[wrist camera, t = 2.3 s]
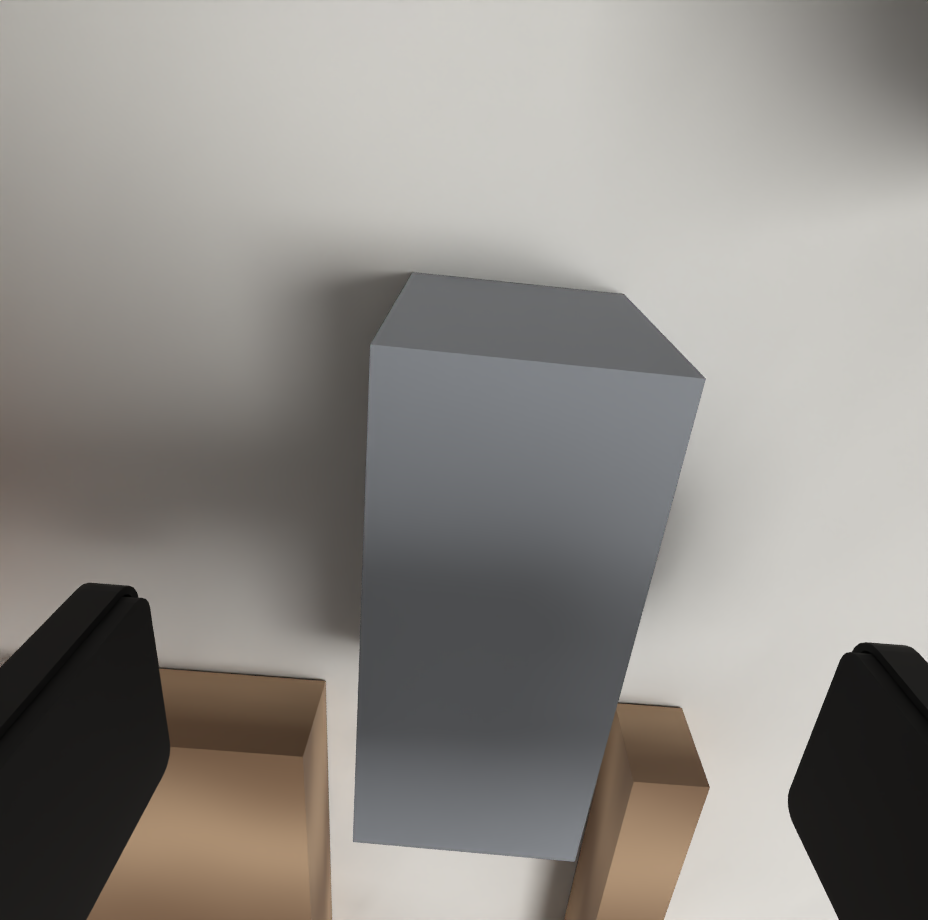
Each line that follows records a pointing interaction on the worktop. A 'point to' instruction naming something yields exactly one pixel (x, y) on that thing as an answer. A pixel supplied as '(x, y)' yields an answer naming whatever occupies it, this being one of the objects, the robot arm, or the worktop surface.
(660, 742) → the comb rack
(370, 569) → the grey stub
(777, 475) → the worktop surface
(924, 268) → the worktop surface
